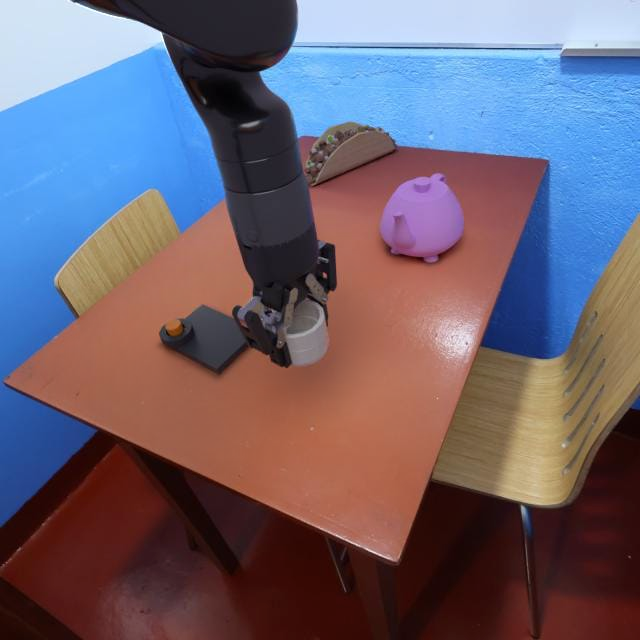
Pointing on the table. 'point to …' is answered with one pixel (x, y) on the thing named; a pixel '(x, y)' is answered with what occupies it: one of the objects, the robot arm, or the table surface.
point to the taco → (345, 150)
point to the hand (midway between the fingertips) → (301, 344)
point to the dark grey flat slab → (207, 339)
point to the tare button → (174, 327)
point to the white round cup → (306, 333)
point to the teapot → (422, 218)
